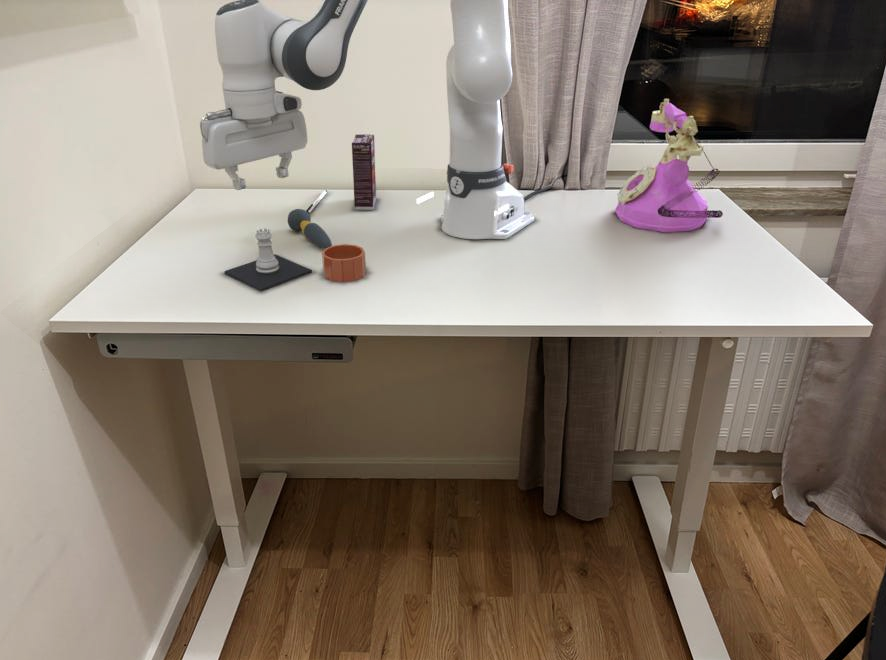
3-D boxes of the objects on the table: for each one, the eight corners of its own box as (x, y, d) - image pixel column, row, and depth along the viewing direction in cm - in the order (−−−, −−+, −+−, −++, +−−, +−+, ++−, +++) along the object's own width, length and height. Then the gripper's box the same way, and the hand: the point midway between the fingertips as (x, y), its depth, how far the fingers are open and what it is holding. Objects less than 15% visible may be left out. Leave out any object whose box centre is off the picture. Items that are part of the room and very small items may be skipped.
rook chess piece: (251, 272, 143) (246, 233, 139) (264, 264, 147) (259, 225, 143) (271, 276, 142) (266, 236, 138) (284, 267, 146) (279, 228, 142)
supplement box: (374, 210, 177) (371, 143, 169) (354, 210, 177) (350, 143, 169) (377, 199, 184) (374, 133, 176) (357, 199, 184) (354, 133, 176)
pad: (275, 256, 152) (274, 254, 152) (312, 272, 145) (312, 269, 145) (224, 273, 145) (224, 271, 144) (261, 291, 137) (260, 288, 137)
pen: (303, 216, 173) (303, 212, 172) (325, 191, 189) (324, 187, 189) (307, 217, 173) (307, 212, 172) (328, 192, 189) (328, 187, 188)
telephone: (606, 199, 184) (618, 93, 171) (698, 200, 183) (717, 94, 170) (634, 254, 153) (652, 130, 140) (746, 255, 152) (774, 130, 140)
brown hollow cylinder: (346, 262, 149) (345, 241, 147) (374, 273, 145) (373, 251, 142) (315, 274, 144) (313, 252, 142) (342, 285, 140) (341, 263, 137)
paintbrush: (346, 248, 156) (344, 225, 153) (325, 254, 153) (323, 230, 151) (299, 223, 170) (297, 201, 167) (280, 228, 167) (277, 206, 164)
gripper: (208, 117, 121) (222, 200, 128) (308, 97, 133) (316, 173, 140) (188, 112, 124) (202, 192, 131) (287, 93, 137) (295, 167, 144)
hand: (261, 182), depth 136 cm, fingers open, 8 cm apart
